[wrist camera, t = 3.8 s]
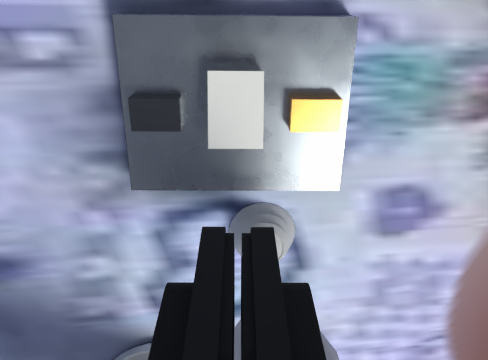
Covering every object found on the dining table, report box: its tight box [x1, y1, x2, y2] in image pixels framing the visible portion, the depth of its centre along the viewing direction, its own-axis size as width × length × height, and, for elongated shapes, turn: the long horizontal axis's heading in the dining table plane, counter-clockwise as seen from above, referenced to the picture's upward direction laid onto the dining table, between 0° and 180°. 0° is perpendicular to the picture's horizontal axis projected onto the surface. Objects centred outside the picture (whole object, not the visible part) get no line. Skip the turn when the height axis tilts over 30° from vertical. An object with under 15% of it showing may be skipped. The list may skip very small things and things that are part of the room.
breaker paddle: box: [207, 71, 264, 149], centre depth 25 cm, size 4×3×1 cm
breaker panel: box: [112, 13, 359, 191], centre depth 27 cm, size 11×14×3 cm
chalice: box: [229, 203, 339, 360], centre depth 24 cm, size 7×7×18 cm
